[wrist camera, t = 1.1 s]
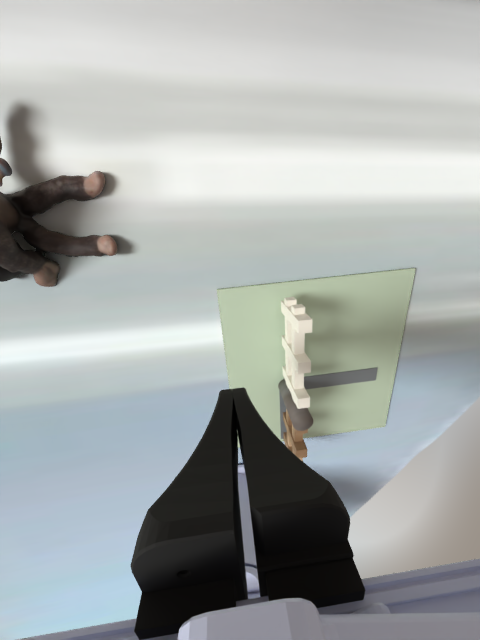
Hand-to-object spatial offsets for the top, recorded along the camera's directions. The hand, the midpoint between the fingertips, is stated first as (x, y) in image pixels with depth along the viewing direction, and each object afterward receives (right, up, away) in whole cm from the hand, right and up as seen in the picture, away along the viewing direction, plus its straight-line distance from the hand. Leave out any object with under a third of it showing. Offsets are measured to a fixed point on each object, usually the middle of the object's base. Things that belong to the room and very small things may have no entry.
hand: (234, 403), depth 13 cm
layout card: (+8, 0, +12) cm, 14 cm away
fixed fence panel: (+6, -6, +14) cm, 16 cm away
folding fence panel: (+5, +3, +9) cm, 11 cm away
